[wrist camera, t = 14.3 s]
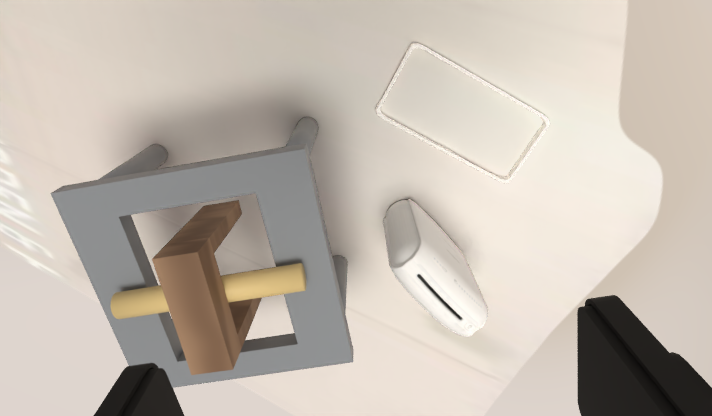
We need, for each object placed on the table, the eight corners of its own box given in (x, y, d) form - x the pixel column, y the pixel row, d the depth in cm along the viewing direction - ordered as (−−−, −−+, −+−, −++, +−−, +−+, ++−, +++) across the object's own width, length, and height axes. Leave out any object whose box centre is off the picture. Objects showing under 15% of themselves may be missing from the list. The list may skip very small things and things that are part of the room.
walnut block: (230, 298, 43) (191, 375, 33) (203, 205, 40) (152, 259, 30) (263, 294, 43) (233, 369, 33) (238, 200, 40) (197, 252, 30)
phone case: (548, 117, 45) (412, 39, 43) (553, 120, 44) (414, 40, 41) (503, 181, 48) (373, 111, 45) (507, 186, 46) (373, 114, 44)
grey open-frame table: (194, 298, 53) (130, 410, 38) (137, 142, 46) (32, 204, 31) (354, 273, 51) (352, 379, 36) (320, 109, 44) (300, 157, 30)
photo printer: (470, 257, 50) (503, 328, 39) (439, 280, 52) (462, 356, 40) (408, 189, 48) (424, 246, 36) (376, 216, 49) (382, 278, 37)
